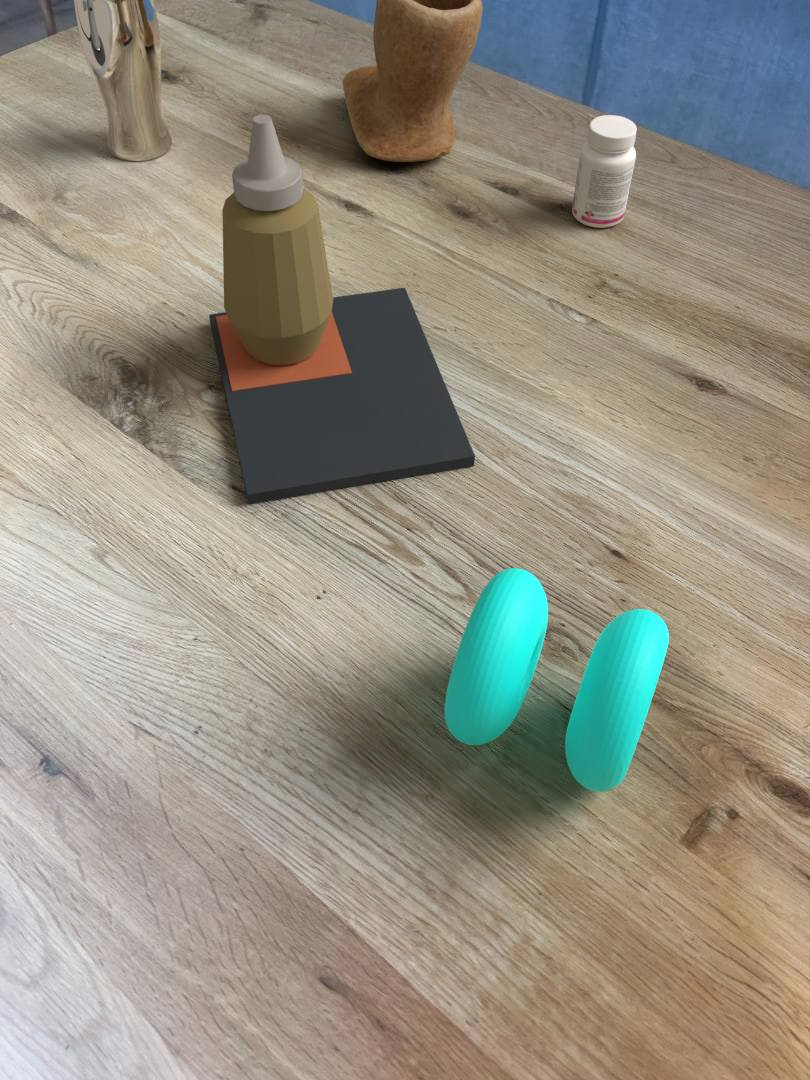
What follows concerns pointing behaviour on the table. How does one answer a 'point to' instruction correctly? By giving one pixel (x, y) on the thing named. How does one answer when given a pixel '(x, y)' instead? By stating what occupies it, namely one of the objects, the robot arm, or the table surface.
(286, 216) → the squeeze bottle
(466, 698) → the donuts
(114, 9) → the chrome sculpted vase
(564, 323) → the table surface
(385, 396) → the mat
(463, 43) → the stone cup
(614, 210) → the pill bottle
